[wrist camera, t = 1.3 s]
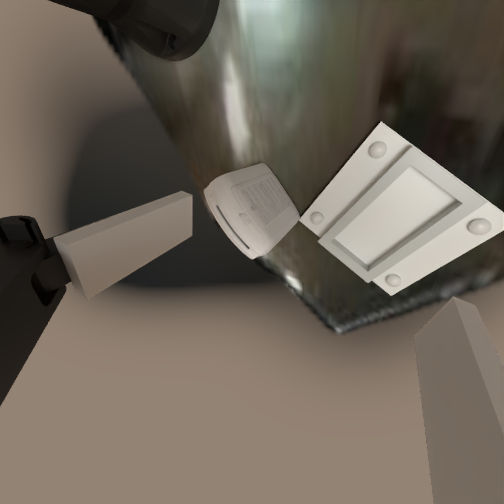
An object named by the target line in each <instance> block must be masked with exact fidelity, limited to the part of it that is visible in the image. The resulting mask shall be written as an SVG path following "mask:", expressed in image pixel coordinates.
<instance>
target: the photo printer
mask: <svg viewBox="0 0 504 504" xmlns="http://www.w3.org/2000/svg"><path fill="white" fill-rule="evenodd" d="M204 195H205V198H206V201H207V203H208V205H209V207H210V209H211V211H212V213H213V215H214V217H215V218H216V220H217V222H218V223H219V225H220V226H221V228H222V229H223V231H224V232H225V233H226V235H227V236H228V237H229V238H230V240H231V241H232V242H233V243H234V244H235V245H236V246H237V247H238V248H239V249H240V250H241V251H242V252H243V253H244V254H245V255H247V256H248V257H249V258H251V259H254V258H256V257H257V256H262V255H265V254H267V253H268V252H269V251H270V250H271V249H272V248H273V247H274V246H275V245H276V244H277V243H278V242H279V241H280V240H281V239H282V238H283V237H284V236H285V235H286V234H287V233H288V232H289V231H290V230H291V229H292V227H293V226H294V225H295V224H296V223H297V222H298V220H299V219H300V215H299V213H298V211H297V209H296V207H295V205H294V204H293V202H292V201H291V199H290V197H289V196H288V194H287V193H286V191H285V190H284V188H283V187H282V185H281V184H280V182H279V181H278V179H277V178H276V176H275V175H274V174H273V172H272V171H271V170H270V168H269V167H268V166H267V165H266V164H265V163H260V164H257V165H253V166H250V167H246V168H243V169H240V170H236V171H233V172H229V173H226V174H224V175H221V176H219V177H217V178H216V179H214V180H213V181H212V182H211V183H210V184H209V186H208V187H207V188H205V189H204Z"/></svg>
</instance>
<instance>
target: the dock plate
mask: <svg viewBox="0 0 504 504" xmlns="http://www.w3.org/2000/svg"><path fill="white" fill-rule="evenodd" d="M299 221H300V222H302V223H303V224H304V225H305V226H306V227H308V228H309V229H310V230H311V231H313V232H314V233H315V234H316V235H317V236H319V237H320V239H319V240H318V242H319V243H320V244H321V245H322V246H323V247H325V248H326V249H327V250H328V251H330V252H331V253H332V254H333V255H334V256H336V257H337V258H338V259H339V260H340V261H342V262H343V263H344V264H345V265H347V266H348V267H349V268H350V269H351V270H353V271H354V272H355V273H356V274H357V275H359V276H360V277H361V278H362V279H364V280H365V281H366V282H367V283H369V282H370V281H374V282H375V283H376V284H377V285H378V286H380V287H381V288H382V289H383V290H385V291H386V292H387V293H388V294H389V295H391V296H392V295H393V294H395V293H397V292H399V291H400V290H402V289H404V288H405V287H407V286H409V285H411V284H412V283H414V282H416V281H417V280H419V279H421V278H423V277H424V276H426V275H428V274H429V273H431V272H433V271H435V270H436V269H438V268H440V267H441V266H443V265H445V264H447V263H448V262H450V261H452V260H453V259H455V258H457V257H459V256H460V255H462V254H464V253H465V252H467V251H469V250H471V249H472V248H474V247H476V246H478V245H479V244H481V243H483V242H484V241H486V240H488V239H490V238H491V237H493V236H495V235H496V234H498V233H500V232H502V231H503V230H504V212H502V211H501V210H500V209H498V208H497V207H496V206H494V205H493V204H492V203H490V202H489V201H488V200H486V199H485V198H483V197H482V196H481V195H479V194H478V193H477V192H475V191H474V190H473V189H471V188H470V187H469V186H467V185H466V184H465V183H463V182H462V181H461V180H459V179H458V178H457V177H455V176H454V175H452V174H451V173H450V172H448V171H447V170H446V169H444V168H443V167H442V166H440V165H439V164H438V163H436V162H435V161H434V160H432V159H431V158H430V157H428V156H427V155H426V154H424V153H423V152H422V151H420V150H419V149H417V148H416V147H415V146H413V145H412V144H411V143H409V142H408V141H407V140H405V139H404V138H403V137H401V136H400V135H399V134H397V133H396V132H395V131H393V130H392V129H391V128H389V127H388V126H386V125H385V124H384V123H382V122H380V123H379V124H378V126H377V127H376V128H375V129H374V130H373V132H372V133H371V134H370V135H369V136H368V138H367V139H366V140H365V141H364V142H363V144H362V145H361V146H360V147H359V148H358V150H357V151H356V152H355V153H354V155H353V156H352V157H351V158H350V159H349V161H348V162H347V163H346V164H345V165H344V167H343V168H342V169H341V170H340V171H339V173H338V174H337V175H336V176H335V177H334V179H333V180H332V181H331V182H330V183H329V185H328V186H327V187H326V188H325V189H324V191H323V192H322V193H321V194H320V195H319V197H318V198H317V199H316V200H315V201H314V203H313V204H312V205H311V206H310V207H309V209H308V210H307V211H306V212H305V213H304V215H303V216H302V217H301V218H300V219H299Z"/></svg>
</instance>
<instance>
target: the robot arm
mask: <svg viewBox="0 0 504 504" xmlns="http://www.w3.org/2000/svg"><path fill="white" fill-rule="evenodd" d="M49 1H52V2H54V3H57V4H60V5H63V6H66V7H69V8H72V9H75V10H78V11H81V12H84V13H87V14H90V15H93V16H96V17H99V18H101V19H104V20H107V21H109V22H110V23H112V24H113V25H114V26H115V27H117V28H118V29H119V30H120V31H122V32H123V33H124V34H125V35H127V36H128V37H129V38H130V39H132V40H133V41H134V42H135V43H137V44H138V45H139V46H140V47H142V48H143V49H144V50H146V51H147V52H149V53H151V54H153V55H155V56H158V57H161V58H164V59H168V60H174V61H177V60H183V59H185V58H188V57H189V56H191V55H192V54H194V53H195V52H196V51H197V50H198V49H199V48H200V46H201V45H202V44H203V42H204V41H205V39H206V37H207V36H208V34H209V32H210V29H211V27H212V25H213V22H214V19H215V16H216V12H217V8H218V4H219V0H49ZM191 236H192V195H191V194H188V193H186V192H183V191H180V192H178V193H175V194H172V195H169V196H167V197H164V198H161V199H159V200H156V201H153V202H150V203H147V204H145V205H142V206H139V207H136V208H134V209H131V210H128V211H126V212H123V213H120V214H117V215H115V216H111V217H107V218H104V219H101V220H98V221H96V222H95V223H90V224H87V225H86V226H82V227H79V228H76V229H73V230H71V231H68V232H65V233H62V234H60V235H57V236H54V237H51V238H48V239H44V237H43V235H42V233H41V230H40V228H39V226H38V223H37V221H36V220H35V218H32V217H30V216H10V217H4V218H0V406H1V404H2V402H3V401H4V399H5V397H6V395H7V394H8V392H9V390H10V388H11V387H12V385H13V383H14V381H15V380H16V378H17V376H18V374H19V373H20V371H21V369H22V367H23V366H24V364H25V362H26V360H27V359H28V357H29V355H30V354H31V352H32V350H33V348H34V347H35V345H36V343H37V341H38V340H39V338H40V336H41V334H42V333H43V331H44V329H45V327H46V326H47V324H48V322H49V320H50V318H51V317H52V315H53V313H54V312H55V310H56V308H57V306H58V305H59V303H60V301H61V299H62V298H63V296H64V294H65V292H66V286H65V284H67V283H69V282H72V284H73V287H74V289H75V291H76V292H77V293H78V294H80V295H81V296H83V297H84V298H86V299H87V300H88V299H89V298H91V297H92V296H94V295H96V294H97V293H99V292H101V291H102V290H104V289H106V288H107V287H109V286H111V285H112V284H114V283H115V282H117V281H119V280H120V279H122V278H124V277H125V276H127V275H129V274H130V273H132V272H133V271H135V270H137V269H138V268H140V267H142V266H143V265H145V264H147V263H148V262H150V261H151V260H153V259H155V258H156V257H158V256H160V255H161V254H163V253H164V252H166V251H168V250H169V249H171V248H173V247H174V246H176V245H177V244H179V243H181V242H183V241H184V240H186V239H187V238H189V237H191ZM414 344H415V352H416V360H417V368H418V376H419V384H420V393H421V402H422V409H423V418H424V427H425V435H426V443H427V450H428V459H429V468H430V475H431V484H432V493H433V501H434V504H504V366H503V364H502V361H501V359H500V357H499V355H498V353H497V351H496V349H495V346H494V344H493V342H492V340H491V338H490V336H489V334H488V331H487V329H486V327H485V325H484V323H483V321H482V319H481V316H480V314H479V312H478V310H477V308H476V306H475V305H473V304H470V303H468V302H465V301H463V300H460V299H457V298H455V297H452V298H451V299H450V300H449V301H448V303H447V304H446V305H445V306H444V307H443V308H442V309H441V310H440V311H439V312H438V313H437V314H436V315H435V316H434V317H433V318H432V319H431V320H430V321H429V322H428V323H427V324H426V325H425V326H424V327H423V328H422V329H421V330H420V331H419V332H418V333H417V334H416V335H415V336H414Z"/></svg>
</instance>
